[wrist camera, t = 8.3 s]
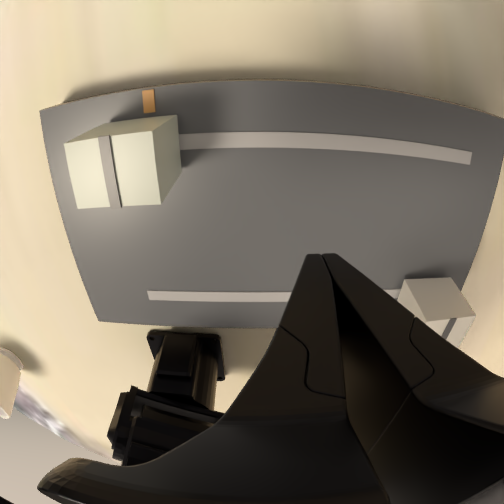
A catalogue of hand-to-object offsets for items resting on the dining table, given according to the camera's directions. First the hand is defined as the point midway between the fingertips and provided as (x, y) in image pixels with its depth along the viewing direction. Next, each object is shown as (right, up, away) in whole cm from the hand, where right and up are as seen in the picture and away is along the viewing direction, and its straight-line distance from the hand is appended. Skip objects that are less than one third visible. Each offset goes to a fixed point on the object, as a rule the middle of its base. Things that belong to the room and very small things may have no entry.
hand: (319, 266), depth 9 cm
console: (0, +3, +11) cm, 12 cm away
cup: (-36, -13, +22) cm, 44 cm away
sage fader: (-7, +6, +6) cm, 11 cm away
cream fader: (+10, -3, +11) cm, 15 cm away
